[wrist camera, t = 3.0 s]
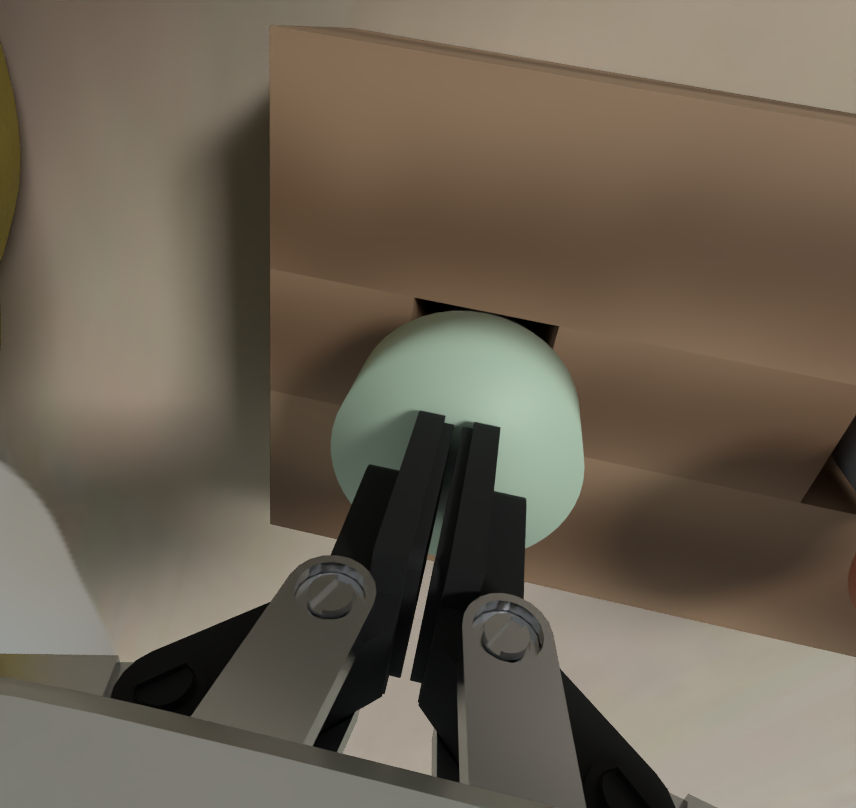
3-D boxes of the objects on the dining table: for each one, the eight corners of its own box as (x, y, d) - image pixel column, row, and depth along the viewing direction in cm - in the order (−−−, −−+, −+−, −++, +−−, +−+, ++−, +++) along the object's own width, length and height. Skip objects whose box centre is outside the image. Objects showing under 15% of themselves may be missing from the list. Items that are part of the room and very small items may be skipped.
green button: (413, 221, 17) (338, 327, 11) (592, 255, 17) (619, 385, 11) (393, 375, 20) (324, 530, 14) (547, 407, 20) (547, 581, 14)
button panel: (350, 28, 17) (269, 25, 12) (1157, 165, 16) (1442, 226, 11) (326, 424, 25) (270, 524, 20) (873, 541, 23) (963, 681, 18)
